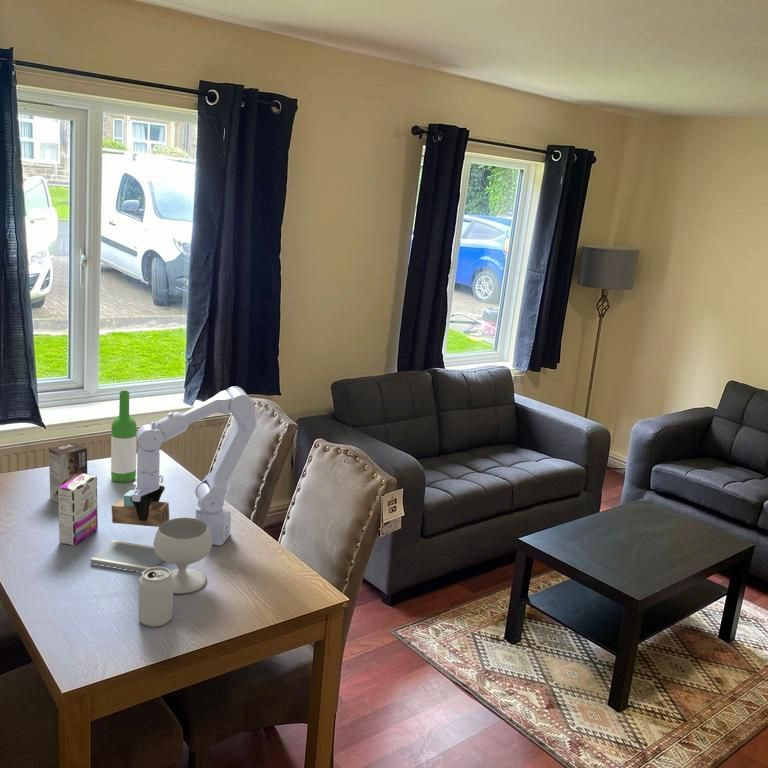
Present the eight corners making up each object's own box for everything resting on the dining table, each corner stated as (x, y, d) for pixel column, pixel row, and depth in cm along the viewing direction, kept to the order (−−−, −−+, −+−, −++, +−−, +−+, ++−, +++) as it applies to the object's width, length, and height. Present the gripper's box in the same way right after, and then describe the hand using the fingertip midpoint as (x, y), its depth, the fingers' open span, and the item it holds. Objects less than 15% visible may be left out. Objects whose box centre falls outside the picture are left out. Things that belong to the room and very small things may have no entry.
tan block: (169, 519, 202) (168, 502, 201) (161, 527, 197) (160, 509, 196) (121, 515, 204) (120, 498, 203) (112, 522, 199) (111, 505, 198)
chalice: (211, 568, 193) (214, 516, 189) (208, 597, 179) (211, 541, 176) (156, 568, 190) (157, 515, 186) (149, 597, 177) (150, 540, 173)
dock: (168, 554, 197) (168, 549, 197) (149, 574, 187) (149, 568, 186) (112, 545, 199) (112, 540, 199) (90, 564, 189) (90, 558, 188)
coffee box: (76, 490, 231) (76, 441, 227) (88, 496, 227) (88, 447, 223) (48, 498, 224) (48, 448, 220) (60, 504, 220) (60, 454, 216)
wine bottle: (140, 480, 243) (141, 393, 236) (118, 485, 238) (118, 396, 230) (128, 472, 248) (129, 387, 241) (106, 477, 243) (107, 390, 235)
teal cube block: (144, 501, 202) (144, 491, 201) (138, 507, 198) (137, 496, 197) (131, 500, 202) (130, 490, 201) (124, 505, 198) (123, 495, 198)
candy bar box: (82, 526, 208) (81, 472, 204) (98, 529, 207) (98, 475, 203) (57, 543, 198) (56, 486, 194) (74, 546, 197) (74, 489, 193)
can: (142, 609, 172) (143, 563, 169) (175, 611, 172) (176, 564, 169) (134, 628, 164) (135, 580, 161) (168, 629, 165) (170, 581, 162)
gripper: (146, 458, 204) (145, 503, 208) (121, 476, 190) (120, 524, 194) (170, 461, 203) (169, 507, 207) (146, 480, 189) (145, 528, 193)
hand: (147, 515), depth 200 cm, fingers closed on tan block, 5 cm apart
